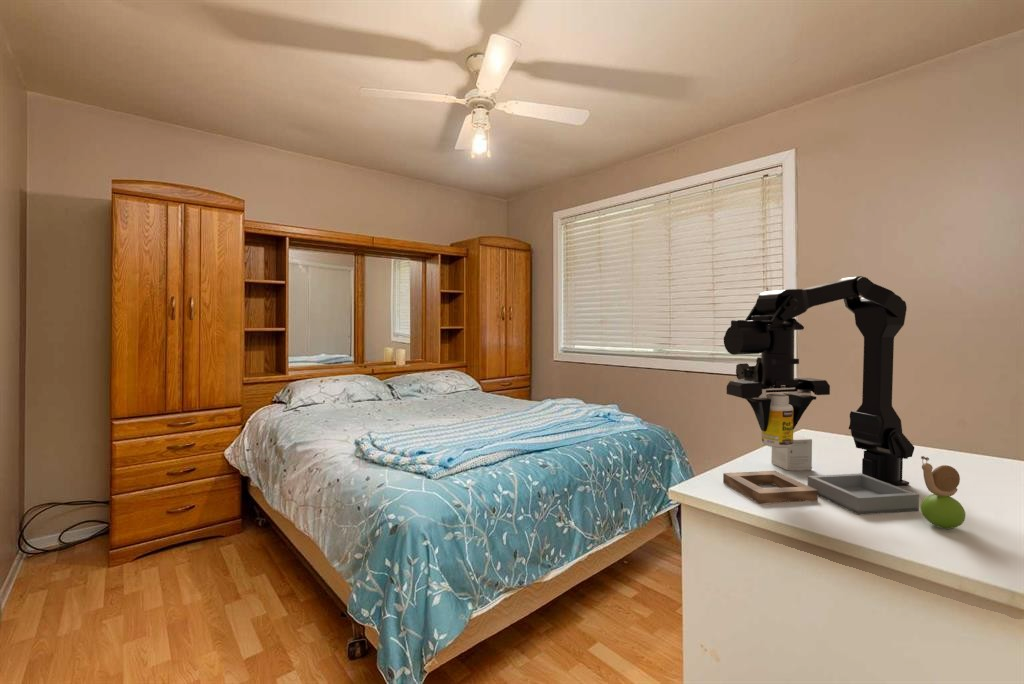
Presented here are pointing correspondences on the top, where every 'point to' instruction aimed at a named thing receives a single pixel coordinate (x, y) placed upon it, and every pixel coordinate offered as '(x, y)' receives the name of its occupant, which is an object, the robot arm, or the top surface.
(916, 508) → the parts tray
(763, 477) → the wooden rectangular frame
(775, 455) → the product box
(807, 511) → the top surface
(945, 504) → the snail figurine
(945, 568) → the top surface
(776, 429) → the supplement bottle
